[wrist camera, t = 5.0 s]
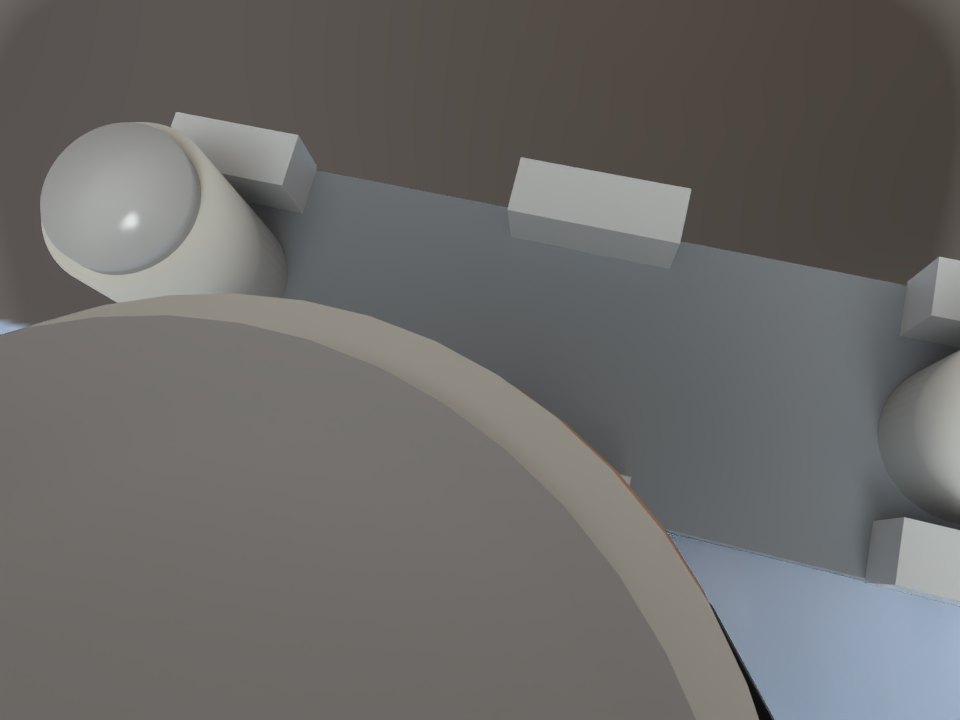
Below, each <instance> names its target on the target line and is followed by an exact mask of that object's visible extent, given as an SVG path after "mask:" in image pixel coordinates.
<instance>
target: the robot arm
mask: <svg viewBox="0 0 960 720" xmlns="http://www.w3.org/2000/svg"><path fill="white" fill-rule="evenodd" d="M709 604H710V603H709ZM710 606H711V608H712V610H713V612H714V615H715V617H716V619H717V621H718V623H719V625H720V627H721V629H722V631H723V634H724V636H725V638H726V640H727V642H728V644H729V646H730V648H731V650H732V653H733V655H734V657H735V659H736V661H737V664H738V666H739V668H740V670H741V672H742V674H743V676H744V678H745V680H746V683H747V685H748V688H749V691H750V694H751V697H752V700H753V703H754V706H755V709H756V712H757V715H758V718H759V720H774V718H773V716H772V714H771V712H770V711H769V709H768V707H767V705H766V703H765V701H764V700H763V698H762V696H761V694H760V692H759V690H758V689H757V687H756V685H755V683H754V681H753V679H752V678H751V676H750V674H749V672H748V670H747V668H746V667H745V665H744V663H743V661H742V659H741V657H740V656H739V654H738V652H737V650H736V648H735V646H734V645H733V643H732V641H731V639H730V637H729V635H728V634H727V632H726V630H725V628H724V626H723V624H722V623H721V621H720V619H719V617H718V615H717V613H716V612H715V610H714V608H713V606H712V605H711V604H710Z"/></svg>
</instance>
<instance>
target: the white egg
mask: <svg viewBox="0 0 960 720" xmlns="http://www.w3.org/2000/svg"><path fill="white" fill-rule="evenodd" d="M878 443H879V450H880V454H881V458H882V461H883V463H884V466H885V468H886V470H887V472H888V474H889V476H890V478H891V479H892V481H893V482H894V484H895V485H896V487H897V488H898V489H899V490H900V491H901V492H902V493H903V495H904V496H905V497H906V498H908V499H909V500H910V501H911V502H912V503H913V504H915V505H916V506H917V507H919V508H920V509H922V510H923V511H925V512H927V513H929V514H931V515H932V516H934V517H937V518H939V519H942V520H945V521H948V522H952V523H956V524H960V350H959V351H957V352H955V353H953V354H951V355H949V356H947V357H945V358H943V359H942V360H940V361H938V362H936V363H934V364H932V365H930V366H928V367H926V368H924V369H922V370H920V371H918V372H916V373H915V374H913V375H911V376H909V377H908V378H907V379H905V380H904V381H903V382H901V383H900V384H899V385H898V386H897V387H896V388H895V389H894V390H893V392H892V393H891V395H890V396H889V398H888V399H887V401H886V403H885V405H884V407H883V410H882V413H881V416H880V420H879V426H878Z"/></svg>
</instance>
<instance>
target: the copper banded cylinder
mask: <svg viewBox="0 0 960 720" xmlns="http://www.w3.org/2000/svg"><path fill="white" fill-rule="evenodd" d="M0 720H759V718H758V715H757V712H756V709H755V706H754V703H753V700H752V697H751V694H750V691H749V688H748V685H747V683H746V680H745V678H744V676H743V674H742V672H741V670H740V668H739V666H738V664H737V661H736V659H735V657H734V655H733V653H732V650H731V648H730V646H729V644H728V642H727V640H726V638H725V636H724V634H723V631H722V629H721V627H720V625H719V623H718V621H717V619H716V617H715V615H714V612H713V610H712V608H711V606H710V604H709V602H708V600H707V598H706V596H705V594H704V591H703V589H702V588H701V586H700V584H699V583H698V581H697V580H696V578H695V577H694V575H693V573H692V572H691V570H690V569H689V567H688V566H687V564H686V562H685V561H684V559H683V558H682V556H681V554H680V553H679V551H678V550H677V548H676V547H675V545H674V543H673V542H672V540H671V539H670V537H669V536H668V534H667V532H666V531H665V529H664V528H663V526H662V525H661V524H660V523H659V521H658V520H657V519H656V518H655V516H654V515H653V514H652V513H651V512H650V510H649V509H648V508H647V507H646V506H645V504H644V503H643V502H642V501H641V499H640V498H639V497H638V496H637V495H636V493H635V492H634V491H633V490H632V489H631V487H630V486H629V485H628V484H627V482H626V481H625V480H624V479H623V478H622V476H621V475H620V474H619V473H618V472H617V471H616V470H615V469H614V468H613V467H612V466H611V465H610V464H609V463H608V462H607V461H606V460H605V459H604V458H603V457H601V456H600V455H599V454H598V453H597V452H596V451H595V450H594V449H593V448H592V447H591V446H590V445H589V444H588V443H587V442H586V441H584V440H583V439H582V438H581V437H580V436H579V435H578V434H577V433H576V432H575V431H574V430H573V429H572V428H571V427H570V426H569V425H567V424H566V423H565V422H563V421H562V420H560V419H559V418H558V417H556V416H555V415H554V414H552V413H551V412H549V411H548V410H547V409H545V408H544V407H543V406H541V405H540V404H538V403H537V402H536V401H534V400H533V399H531V398H530V397H529V396H527V395H526V394H525V393H523V392H522V391H520V390H519V389H518V388H516V387H515V386H513V385H511V384H510V383H508V382H507V381H506V380H504V379H503V378H501V377H500V376H499V375H497V374H495V373H493V372H492V371H490V370H488V369H486V368H484V367H482V366H480V365H479V364H477V363H475V362H473V361H471V360H469V359H468V358H466V357H464V356H462V355H460V354H458V353H456V352H455V351H453V350H451V349H449V348H447V347H445V346H444V345H442V344H440V343H438V342H436V341H434V340H431V339H429V338H426V337H424V336H421V335H418V334H416V333H413V332H410V331H408V330H405V329H403V328H400V327H397V326H395V325H392V324H389V323H387V322H384V321H382V320H379V319H376V318H374V317H371V316H367V315H363V314H359V313H355V312H351V311H346V310H342V309H338V308H334V307H329V306H325V305H321V304H317V303H313V302H308V301H304V300H295V299H285V298H276V297H266V296H256V295H246V294H236V293H235V294H198V295H167V296H161V297H154V298H147V299H141V300H134V301H128V302H121V303H115V304H108V305H102V306H98V307H94V308H91V309H87V310H84V311H80V312H77V313H73V314H70V315H66V316H63V317H59V318H55V319H52V320H48V321H45V322H42V323H38V324H34V325H32V326H29V327H27V328H23V329H19V330H16V331H12V332H9V333H5V334H2V335H0Z"/></svg>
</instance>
